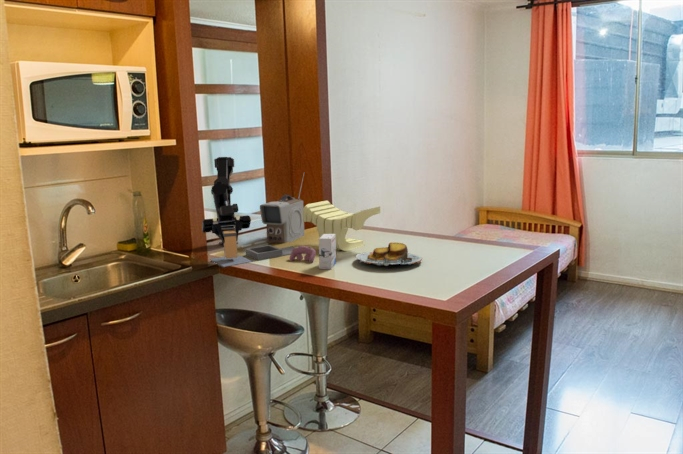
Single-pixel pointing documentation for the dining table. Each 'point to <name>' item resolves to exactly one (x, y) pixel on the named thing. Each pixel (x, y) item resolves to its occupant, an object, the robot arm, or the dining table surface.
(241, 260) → the mat
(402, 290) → the dining table surface
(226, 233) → the block
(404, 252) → the food on plate
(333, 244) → the ink box
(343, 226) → the slatted curved stool
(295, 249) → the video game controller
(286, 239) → the portable television
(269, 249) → the case
